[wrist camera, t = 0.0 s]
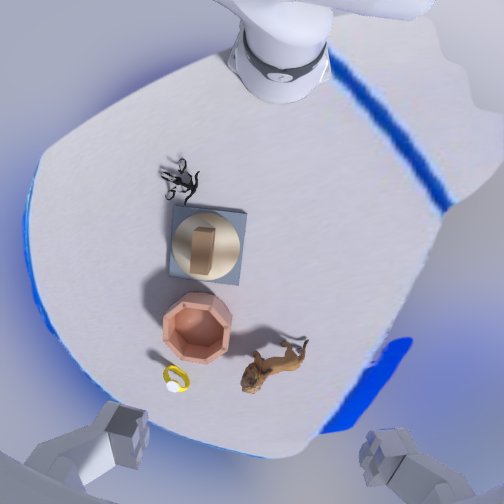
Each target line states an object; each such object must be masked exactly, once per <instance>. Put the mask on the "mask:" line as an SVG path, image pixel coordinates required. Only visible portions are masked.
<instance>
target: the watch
mask: <svg viewBox="0 0 504 504" xmlns="http://www.w3.org/2000/svg"><path fill="white" fill-rule="evenodd" d="M168 370H173V371H174V372H175V373H177V374H178V375H179V376H181V377H182V378H183V380H184V382H185V387H180V384H179V382H178V381H176V380H171V378H170V377H169V375H168ZM163 377H164V379H165V381H166V383H167V385H166V386H167V388H168V389H169V390H170V391H172V392H177V391H179V392H183V391H185V390H186V389H187V388H189V386H190V380H189V378H188V376H187V374H186V373H184V372H183V371H182V370H180V369H179V368H178V367H177V366H173V365H170V366H168V367H167V368H166V369H165V370H164V372H163Z"/></svg>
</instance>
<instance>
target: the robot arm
mask: <svg viewBox="0 0 504 504" xmlns="http://www.w3.org/2000/svg"><path fill="white" fill-rule="evenodd" d="M214 1H216V2H217V3H219V4H221V5H223V6H224V7H226V8H227V9H229V10H230V11H232V12H233V13H234V14H236V15H237V16H238V17H239V18H240V19H241V21H240V26H239V27H240V32H239V34H238V36H237V39H236V41H235V44H234V46H233V48H232V51H231V53H230V56H229V58H228V61H227V65H228V67H229V68H230V69H231V70H232V71H233V72H235V73H236V74H238V75H239V76H240V78H241V80H242V81H243V83H244V85H245V86H246V88H247V89H248V90H249V91H250V92H251V93H252V94H254V95H255V96H257V97H258V98H260V99H262V100H265V101H268V102H271V103H280V104H283V103H291V102H295V101H298V100H300V99H302V98H304V97H305V96H306V95H308V94H309V93H310V92H311V91H312V90H313V89H314V88H315V87H316V86H317V85H320V84H322V83H325V82H327V81H328V80H329V79H330V78H331V69H330V62H329V55H328V49H327V43H326V41H327V39H328V36H329V34H330V32H331V30H332V28H333V23H334V15H333V11H332V8H334V9H339V10H343V11H347V12H351V13H355V14H359V15H363V16H372V17H379V18H387V19H395V20H403V21H411V20H414V19H416V18H418V17H420V16H421V15H423V14H424V13H426V12H427V11H428V10H429V9H430V8H431V7H432V5H433V4H434V3H435V1H436V0H214ZM234 57H235V59H234ZM147 421H148V412H147V411H146V410H142V409H138V408H134V407H131V406H127V405H123V404H119V403H116V402H112V401H108V402H106V403H105V405H104V406H103V408H102V409H101V411H100V412H99V414H98V416H97V417H96V419H95V420H94V422H93V424H92V425H91V426H84V427H82V428H79V429H77V430H74V431H72V432H69V433H67V434H64V435H62V436H59V437H56V438H54V439H52V440H48V441H46V442H43V443H41V444H38V445H37V447H36V448H35V449H34V451H33V452H32V453H31V455H30V456H29V457H28V459H27V460H26V461H25V463H24V464H22V463H20V462H18V461H16V460H15V459H13V458H11V457H9V456H8V455H6V454H4V453H3V452H1V451H0V504H117V503H114V502H111V501H108V500H105V499H102V498H99V497H96V496H94V495H91V494H88V493H87V492H86V490H85V488H84V485H86V484H87V483H89V482H91V481H92V480H94V479H95V478H97V477H99V476H100V475H102V474H103V473H105V472H106V471H108V470H109V469H111V468H112V467H114V466H115V464H117V465H121V466H124V467H128V468H132V469H136V470H138V468H139V465H140V463H141V460H142V458H143V457H142V451H144V450H145V449H146V448H147V445H148V441H149V433H150V432H149V431H150V430H149V426H148V425H147V424H146V423H147ZM366 439H367V442H365V443H364V444H363V445H362V447H361V449H360V451H359V463H360V467H362V468H363V469H364V470H366V471H365V472H364V474H363V476H364V479H365V482H366V485H367V487H372V486H382V485H387V487H388V488H389V489H391V490H392V491H393V492H394V493H395V494H396V495H397V496H398V497H400V498H401V499H402V500H403V501H404V502H405V503H407V504H504V484H502V485H499V486H497V487H495V488H492V489H490V490H487V491H485V492H482V493H480V494H477V495H475V493H474V491H473V489H472V488H471V486H470V484H469V483H468V481H467V479H466V477H465V476H463V475H462V474H460V473H458V472H456V471H455V470H453V469H451V468H449V467H448V466H446V465H444V464H442V463H441V462H439V461H437V460H435V459H434V458H432V457H430V456H429V455H427V454H425V453H420V451H419V449H418V447H417V445H416V444H415V442H414V440H413V438H412V436H411V434H410V433H409V431H408V429H407V428H406V427H399V428H390V429H379V430H370V431H369V432H368V434H367V436H366Z"/></svg>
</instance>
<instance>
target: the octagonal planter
mask: <svg viewBox="0 0 504 504" xmlns="http://www.w3.org/2000/svg"><path fill="white" fill-rule="evenodd" d="M231 325H232V314H231V313H230V312H229V310H228V308H227V306H226V305H225V304H224V303H223V302H222V301H221V300H220V299H219V298H217V297H216V296H214V295H212V294H209V293H205V292H188V293H187V294H186V295H184V296H182V297H181V298H180V299H179V300H178V301H177V302H175V303H174V304H173V305H172V306H170V308H169V309H168V310H167V312H166V313H165V315H164V316H163V342H164V343H165V344H166V345H167V346H168V347H169V348H170V349H171V350H172V351H173V352H174V354H175V355H176V356H177V357H178V358H179V359H180V360H183V361H189V362H195V363H201V364H208V363H210V362H212V361H213V360H215V359H216V358H218V357H219V356H221V355H222V354H224V353H225V352H227V351H228V346H229V341H230V333H231Z"/></svg>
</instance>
